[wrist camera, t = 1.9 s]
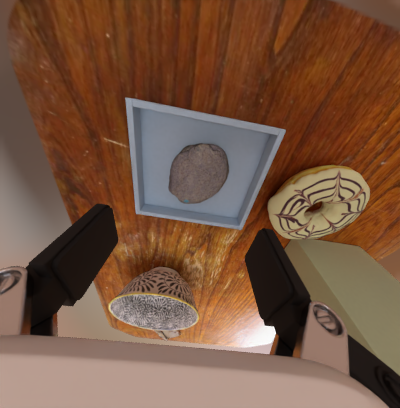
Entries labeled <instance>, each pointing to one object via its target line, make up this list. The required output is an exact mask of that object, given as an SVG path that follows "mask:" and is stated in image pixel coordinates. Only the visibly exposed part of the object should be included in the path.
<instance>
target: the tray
mask: <svg viewBox="0 0 400 408" xmlns="http://www.w3.org/2000/svg"><path fill="white" fill-rule="evenodd" d="M125 99H126V110H127V121H128V132H129V143H130V154H131V165H132V175H133V186H134V197H135V208H136V214H142V215H148V216H155V217H161V218H168V219H174V220H181V221H187V222H194V223H200V224H206V225H213V226H219V227H226V228H232V229H239V230H242V228H243V226H244V224H245V222H246V219H247V217H248V215H249V213H250V210H251V208H252V206H253V204H254V201H255V199H256V197H257V195H258V192H259V190H260V188H261V186H262V183H263V181H264V179H265V177H266V175H267V172H268V170H269V168H270V166H271V163H272V161H273V159H274V157H275V154H276V152H277V150H278V148H279V145H280V143H281V141H282V139H283V137H284V134H285V132H286V130H285V129H281V128H276V127H271V126H267V125H262V124H257V123H252V122H247V121H242V120H237V119H232V118H227V117H222V116H217V115H212V114H207V113H202V112H197V111H193V110H188V109H183V108H178V107H173V106H168V105H163V104H158V103H153V102H148V101H143V100H138V99H133V98H125ZM199 143H203V144H214V145H217V146H219V147H220V148H222V149H223V150H224V151H225V153H226V155H227V158H228V164H229V174H228V177H227V180H226V182H225V183H224V185H223V187H222V188H221V189H220V190H219V192H218V193H216V194H215V195H214V196H213V197H211V198H209V199H207V200H205V201H203V202H201V203H197V204H185V203H182V202H180V201H179V200H178V198H177V197H176V196H175V195H173V194H171V192H170V191H169V189H168V186H169V176H170V169H171V165H172V162H173V160H174V158H175V157H176V156H177V155H178V154H179V153H180V152H181V150H182V149H183V148H184V147H186V146H188V145H195V144H199Z"/></svg>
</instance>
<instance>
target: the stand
mask: <svg viewBox="0 0 400 408" xmlns="http://www.w3.org/2000/svg"><path fill="white" fill-rule="evenodd" d="M284 250H285V252H286V254H287V255H288V257H289V259H290V261H291V262H292V264H293V266H294V268H295V269H296V271H297V273H298V275H299V276H300V278H301V280H302V282H303V283H304V285H305V287H306V289H307V290H308V292H309V294H310V296H311V297H310V299H311V300H312V301H320V302H323V303H325V304H326V305H328V306H329V307H331V308H332V309H333V310H334V311H335V312H336V313H337V314H338V315H339V316H340V318H341V319H342V321H343V322H344V324H345V326H346V329H347V333H348V334H349V335H350V336H351V337H352V338H354V339H355V340H356V341H357V342H359V343H360V344H361V345H362V346H364V347H365V348H366V349H367V350H369V351H370V352H371V353H372V354H374V355H375V356H376V357H377V358H379V359H380V360H381V361H382V362H384V363H385V364H386V365H387V366H389V367H390V368H391V369H393V370H394V371H395V372H396V373H397V374H398V375H399V376H400V282H399V281H398V280H397V279H396V278H394V277H393V276H392V275H391V274H390V273H389V272H388V271H387V270H385V269H384V268H383V267H382V266H381V265H380V264H379V263H378V262H376V261H375V260H374V259H373V258H372V257H371V256H370V255H369V254H368V253H366V252H365V251H364V250H363V249H362V248H361V247H360V246H354V245H347V244H341V243H335V242H328V241H322V240H315V239H291V241H290V242H289V243H288V245H287V246H286V247H285V249H284Z"/></svg>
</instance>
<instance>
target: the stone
mask: <svg viewBox="0 0 400 408" xmlns="http://www.w3.org/2000/svg"><path fill="white" fill-rule="evenodd" d="M228 174H229V164H228V158H227V155H226V153H225V151H224V150H223V149H222V148H220V147H219V146H217V145H214V144H203V143H199V144H195V145H188V146H186V147H184V148H183V149H182V150H181V152H180V153H179V154H178V155H177V156H176V157H175V158H174V160H173V162H172V165H171V169H170V176H169V186H168V189H169V191H170V192H171V194H173V195H175V196H176V197H177V198H178V200H179V201H180V202H182V203H185V204H197V203H201V202H203V201H205V200H207V199H209V198H211V197H213V196H214V195H215V194H216V193H218V192H219V190H220V189H221V188H222V187H223V185H224V183H225V182H226V180H227V177H228Z"/></svg>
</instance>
